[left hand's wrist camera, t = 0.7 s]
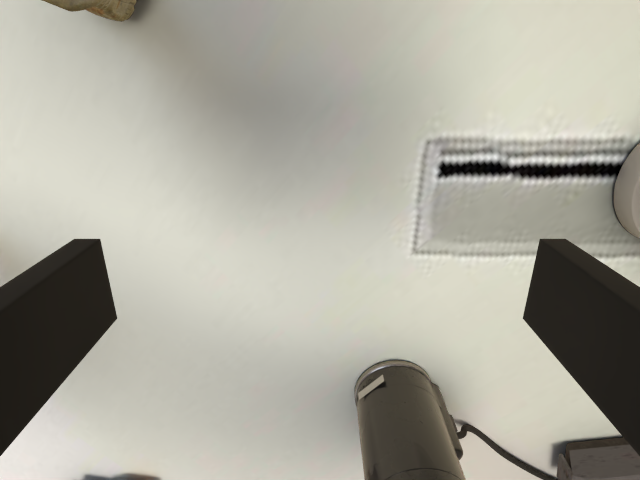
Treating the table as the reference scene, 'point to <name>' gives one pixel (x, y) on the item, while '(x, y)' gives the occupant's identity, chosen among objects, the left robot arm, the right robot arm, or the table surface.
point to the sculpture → (99, 7)
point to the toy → (599, 461)
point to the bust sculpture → (629, 193)
